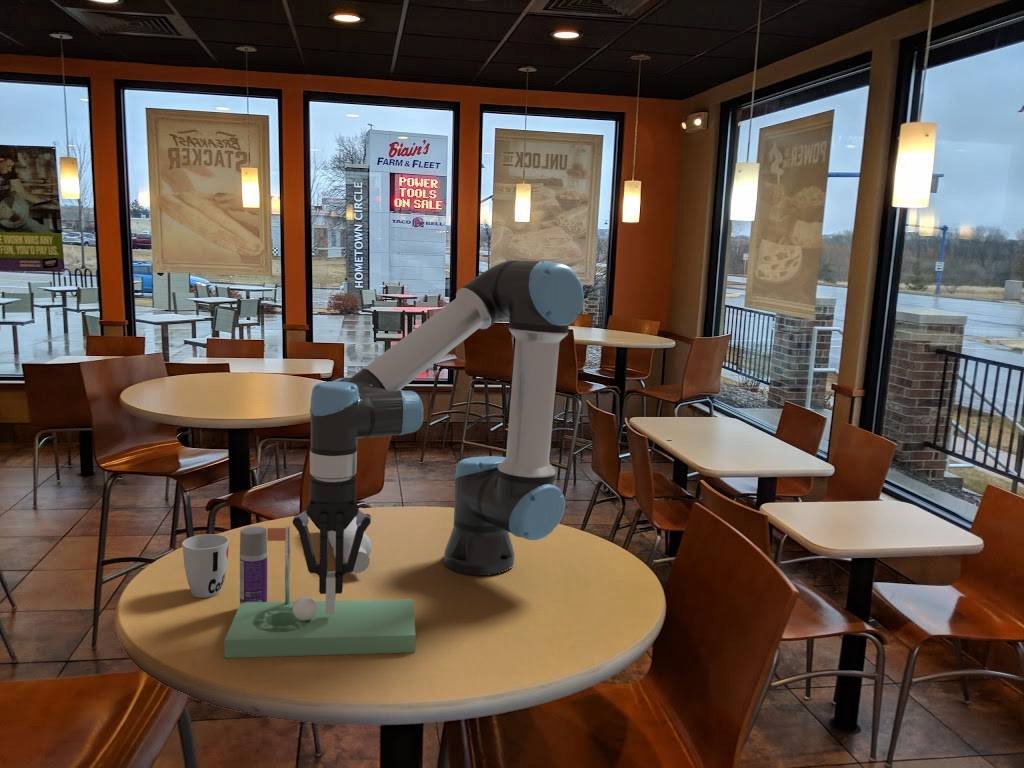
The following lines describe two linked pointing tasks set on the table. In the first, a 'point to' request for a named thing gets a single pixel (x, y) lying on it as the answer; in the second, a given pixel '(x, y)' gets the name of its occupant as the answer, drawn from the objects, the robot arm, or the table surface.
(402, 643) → the green
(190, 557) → the cup
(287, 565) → the flag pin
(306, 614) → the ball
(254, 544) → the container
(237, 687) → the table surface
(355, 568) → the bottle
